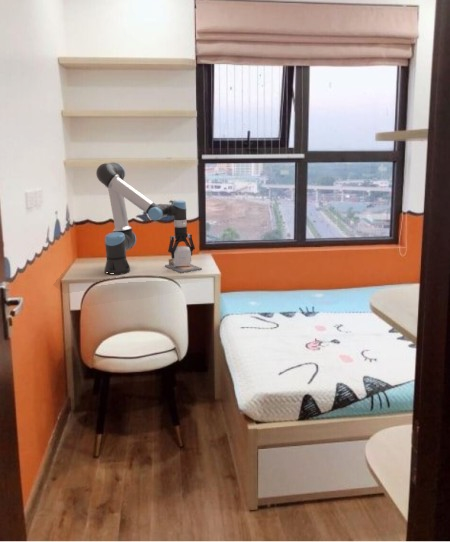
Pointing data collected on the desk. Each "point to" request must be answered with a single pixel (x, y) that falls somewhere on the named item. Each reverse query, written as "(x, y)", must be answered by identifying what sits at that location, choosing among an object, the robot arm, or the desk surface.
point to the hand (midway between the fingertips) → (182, 262)
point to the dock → (182, 267)
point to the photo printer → (182, 256)
